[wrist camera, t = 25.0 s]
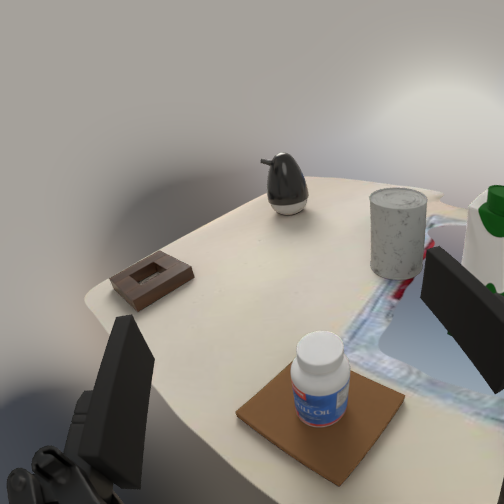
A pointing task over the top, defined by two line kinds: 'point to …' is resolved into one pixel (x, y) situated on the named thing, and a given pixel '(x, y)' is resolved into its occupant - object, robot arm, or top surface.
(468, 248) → the milk carton
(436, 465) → the top surface
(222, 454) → the top surface
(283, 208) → the black egg-shaped figure
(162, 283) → the socket base
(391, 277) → the concrete cylinder
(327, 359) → the pill bottle
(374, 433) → the cork pad
